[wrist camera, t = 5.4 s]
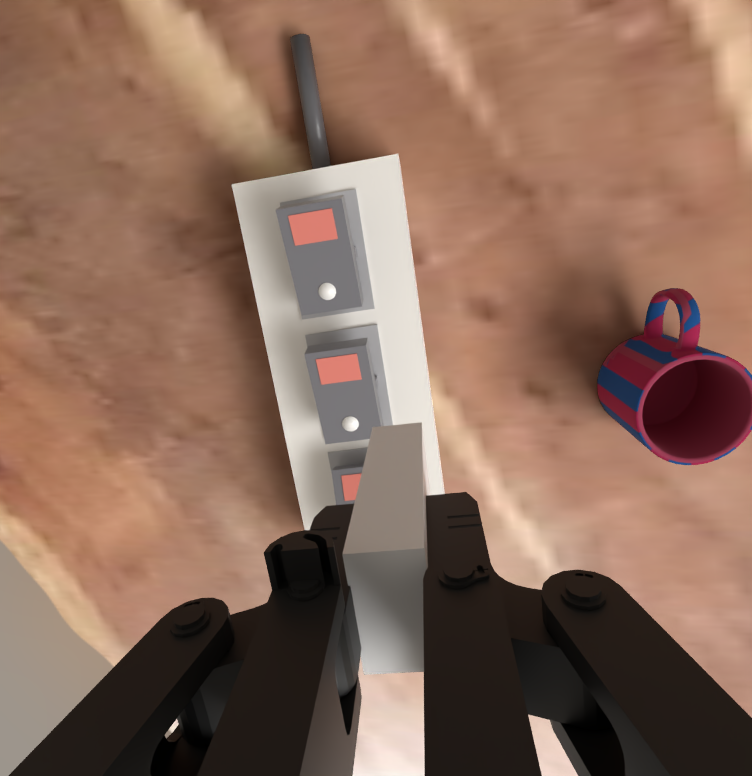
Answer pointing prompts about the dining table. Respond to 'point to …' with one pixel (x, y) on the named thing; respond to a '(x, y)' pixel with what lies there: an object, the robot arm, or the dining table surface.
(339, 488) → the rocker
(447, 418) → the dining table surface
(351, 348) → the rocker mid
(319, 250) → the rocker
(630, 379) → the mug
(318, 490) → the strip
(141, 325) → the dining table surface
